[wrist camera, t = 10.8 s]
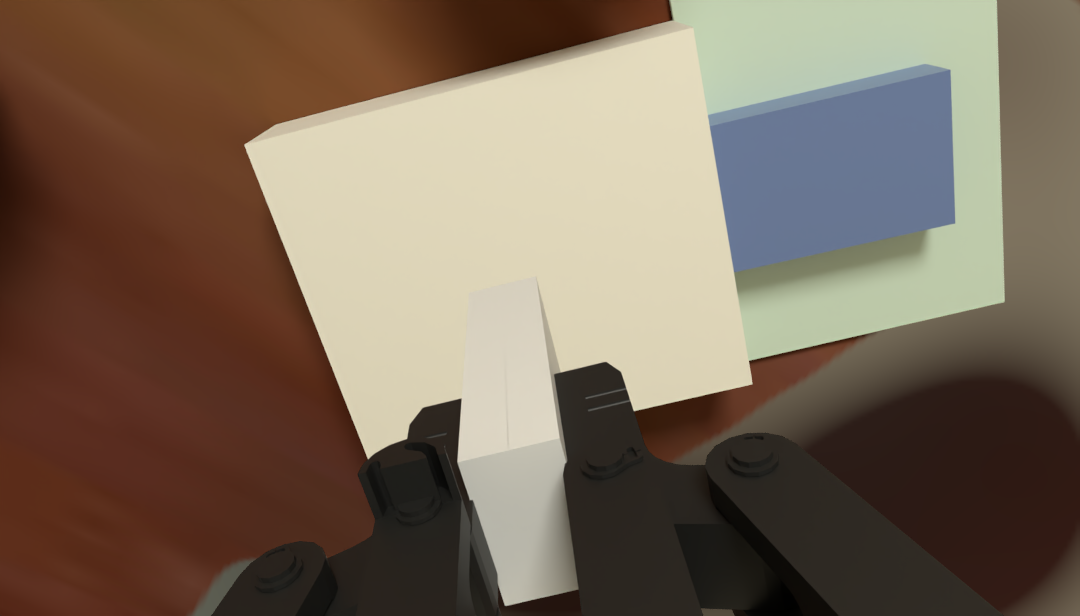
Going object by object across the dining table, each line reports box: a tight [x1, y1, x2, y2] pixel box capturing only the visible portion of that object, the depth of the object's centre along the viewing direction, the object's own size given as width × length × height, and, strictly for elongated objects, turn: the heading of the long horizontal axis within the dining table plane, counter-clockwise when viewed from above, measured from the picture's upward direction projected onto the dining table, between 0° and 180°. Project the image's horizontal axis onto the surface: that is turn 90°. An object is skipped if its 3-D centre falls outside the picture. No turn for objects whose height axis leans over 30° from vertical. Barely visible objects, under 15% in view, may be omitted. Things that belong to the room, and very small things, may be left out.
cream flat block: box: [245, 20, 752, 459], centre depth 32 cm, size 16×14×4 cm
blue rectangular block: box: [708, 64, 955, 272], centre depth 32 cm, size 9×6×2 cm, turn 103°
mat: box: [669, 0, 1005, 361], centre depth 33 cm, size 12×16×1 cm
